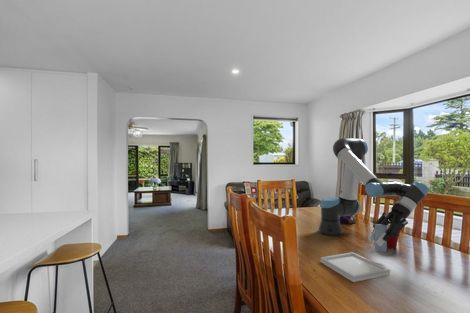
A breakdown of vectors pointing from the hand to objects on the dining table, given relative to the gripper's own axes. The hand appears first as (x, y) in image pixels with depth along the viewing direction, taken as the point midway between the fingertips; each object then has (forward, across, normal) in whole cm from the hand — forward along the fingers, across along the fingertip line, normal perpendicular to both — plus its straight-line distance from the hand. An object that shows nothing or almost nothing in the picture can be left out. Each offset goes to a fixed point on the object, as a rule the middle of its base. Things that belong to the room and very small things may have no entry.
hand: (373, 242), depth 114 cm
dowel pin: (0, 0, -5) cm, 5 cm away
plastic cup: (-9, +15, -23) cm, 28 cm away
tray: (+17, -5, +4) cm, 18 cm away
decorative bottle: (-14, +70, -29) cm, 77 cm away
